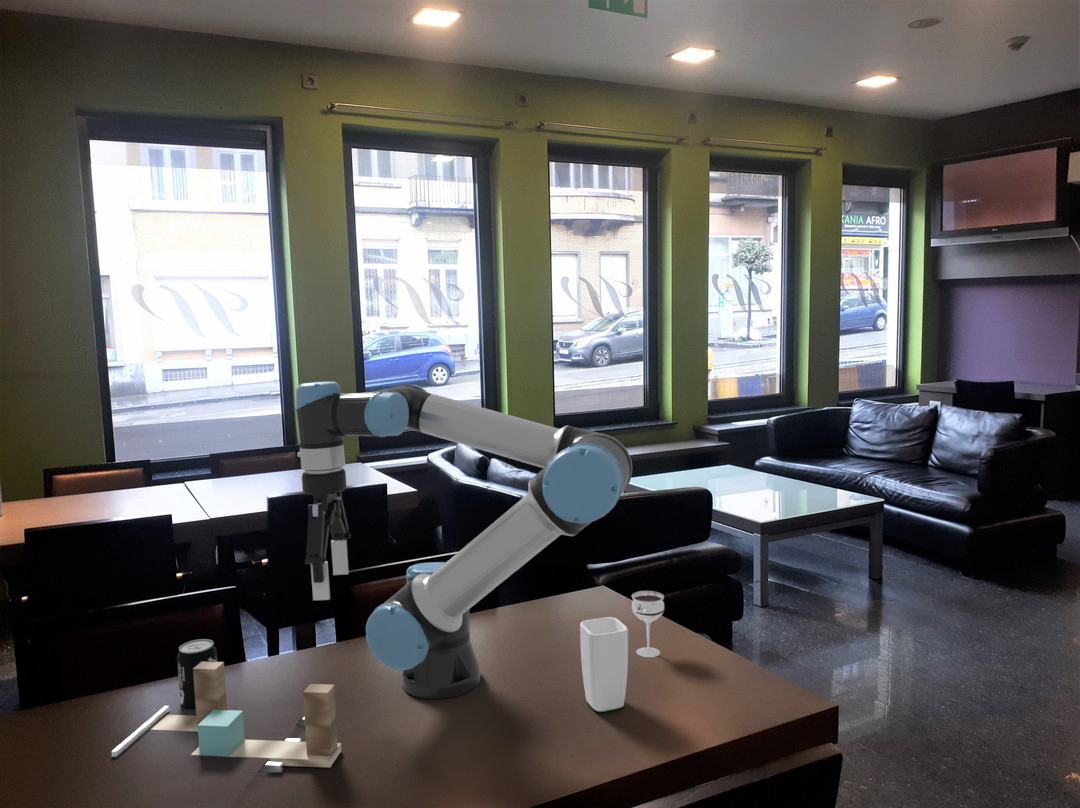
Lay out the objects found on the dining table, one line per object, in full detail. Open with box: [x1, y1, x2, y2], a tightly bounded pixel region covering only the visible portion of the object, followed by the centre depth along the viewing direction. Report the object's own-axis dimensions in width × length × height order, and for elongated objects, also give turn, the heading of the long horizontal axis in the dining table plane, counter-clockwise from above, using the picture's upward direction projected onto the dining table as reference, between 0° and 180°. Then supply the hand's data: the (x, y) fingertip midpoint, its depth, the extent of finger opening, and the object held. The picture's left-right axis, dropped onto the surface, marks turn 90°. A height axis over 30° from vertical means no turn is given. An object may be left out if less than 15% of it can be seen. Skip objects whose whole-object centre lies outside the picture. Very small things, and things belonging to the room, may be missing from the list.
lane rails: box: [111, 705, 305, 773], centre depth 131 cm, size 28×15×2 cm, turn 84°
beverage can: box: [176, 638, 218, 711], centre depth 143 cm, size 7×7×12 cm
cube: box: [197, 709, 246, 757], centre depth 127 cm, size 5×5×5 cm
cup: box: [579, 616, 629, 713], centre depth 141 cm, size 7×7×15 cm
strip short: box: [149, 661, 228, 733], centre depth 135 cm, size 12×5×12 cm, turn 84°
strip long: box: [190, 683, 343, 769], centre depth 126 cm, size 23×5×12 cm, turn 84°
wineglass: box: [631, 590, 665, 658], centre depth 163 cm, size 7×7×12 cm
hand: (331, 586), depth 141 cm, fingers open, 13 cm apart
